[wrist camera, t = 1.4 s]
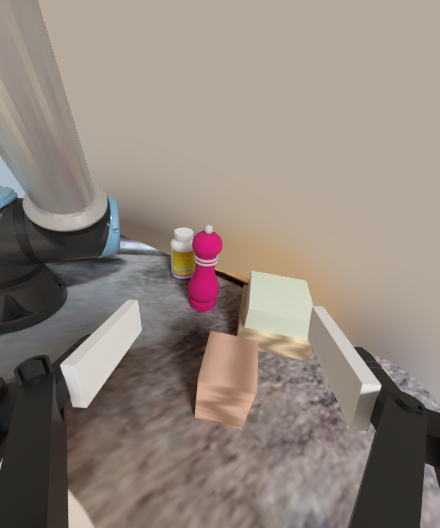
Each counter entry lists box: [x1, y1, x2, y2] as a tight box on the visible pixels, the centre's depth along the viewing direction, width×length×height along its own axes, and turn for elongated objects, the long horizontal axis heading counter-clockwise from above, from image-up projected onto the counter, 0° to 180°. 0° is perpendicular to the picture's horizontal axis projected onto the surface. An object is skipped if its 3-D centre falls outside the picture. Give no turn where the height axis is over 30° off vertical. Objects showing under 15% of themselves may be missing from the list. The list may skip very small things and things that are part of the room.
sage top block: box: [244, 271, 313, 340], centre depth 43 cm, size 12×12×5 cm
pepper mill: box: [188, 225, 222, 312], centre depth 45 cm, size 7×7×20 cm
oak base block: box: [236, 285, 313, 361], centre depth 46 cm, size 14×14×5 cm
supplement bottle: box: [171, 228, 196, 279], centre depth 56 cm, size 7×7×13 cm
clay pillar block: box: [195, 331, 258, 429], centre depth 31 cm, size 7×7×11 cm
